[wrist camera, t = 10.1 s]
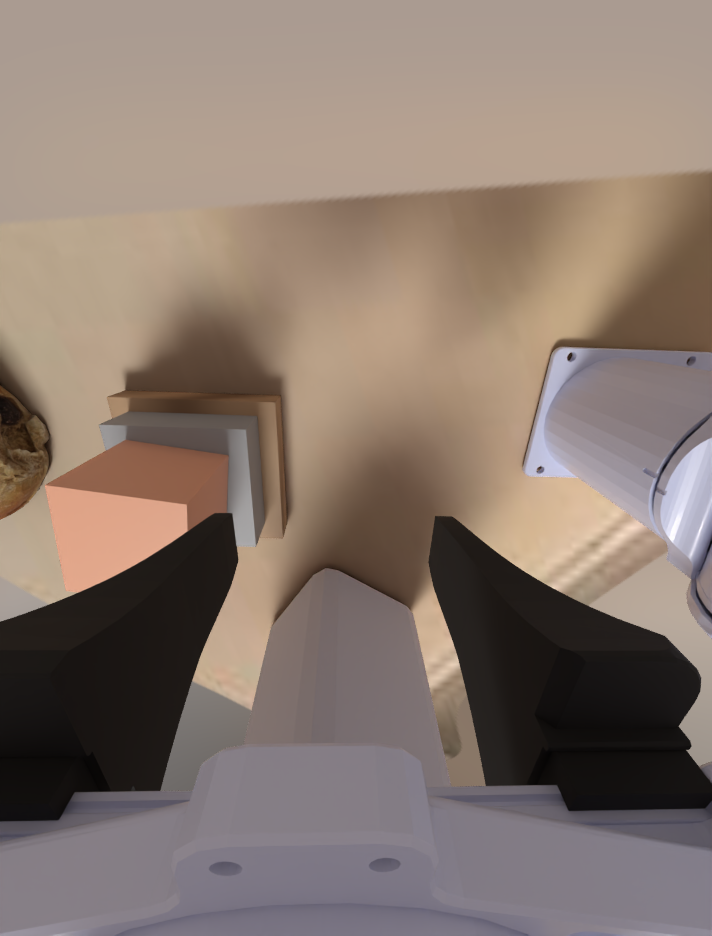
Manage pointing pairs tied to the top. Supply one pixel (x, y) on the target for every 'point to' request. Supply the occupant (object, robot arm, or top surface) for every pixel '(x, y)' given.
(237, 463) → the grey slab
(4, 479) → the bread roll
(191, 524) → the terracotta cube
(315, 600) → the soap bottle
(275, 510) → the walnut slab
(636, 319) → the top surface
